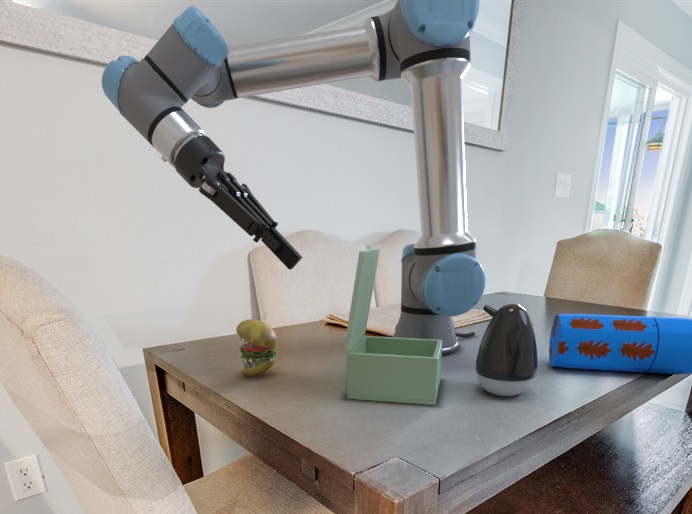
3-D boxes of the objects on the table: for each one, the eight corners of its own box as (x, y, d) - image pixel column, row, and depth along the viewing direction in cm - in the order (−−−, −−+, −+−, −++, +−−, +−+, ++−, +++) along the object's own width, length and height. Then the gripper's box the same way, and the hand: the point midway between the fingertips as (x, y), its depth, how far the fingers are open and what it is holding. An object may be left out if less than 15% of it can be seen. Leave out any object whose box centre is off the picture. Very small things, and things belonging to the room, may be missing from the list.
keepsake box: (440, 380, 86) (442, 339, 83) (434, 405, 74) (437, 358, 71) (363, 375, 88) (363, 335, 85) (347, 398, 77) (346, 353, 74)
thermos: (555, 373, 90) (696, 382, 86) (563, 319, 86) (711, 325, 82) (546, 358, 100) (672, 365, 96) (553, 309, 96) (685, 314, 92)
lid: (380, 247, 79) (375, 246, 79) (364, 252, 68) (359, 251, 68) (365, 333, 85) (361, 332, 85) (348, 351, 74) (343, 350, 74)
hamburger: (245, 368, 92) (239, 308, 88) (282, 368, 92) (277, 308, 88) (236, 381, 85) (229, 316, 80) (275, 380, 85) (270, 316, 81)
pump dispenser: (492, 378, 87) (500, 296, 82) (544, 391, 80) (557, 303, 75) (460, 390, 81) (467, 303, 75) (514, 406, 74) (525, 311, 68)
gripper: (200, 175, 81) (295, 275, 84) (152, 166, 69) (266, 284, 72) (224, 140, 78) (322, 245, 81) (179, 125, 66) (296, 249, 69)
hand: (295, 263), depth 77 cm, fingers closed
